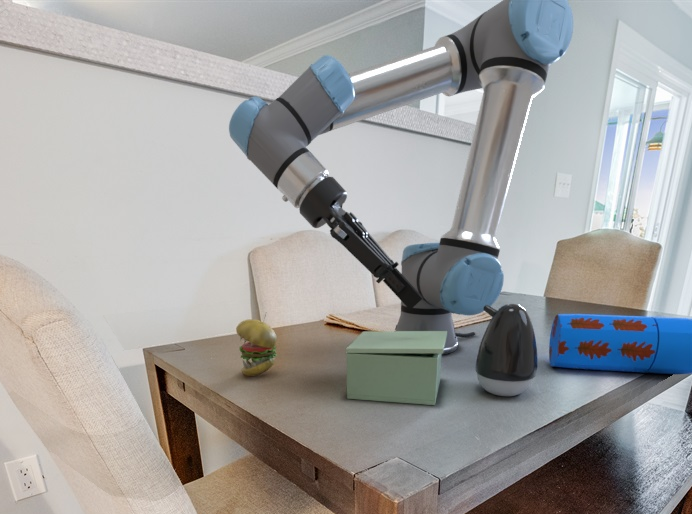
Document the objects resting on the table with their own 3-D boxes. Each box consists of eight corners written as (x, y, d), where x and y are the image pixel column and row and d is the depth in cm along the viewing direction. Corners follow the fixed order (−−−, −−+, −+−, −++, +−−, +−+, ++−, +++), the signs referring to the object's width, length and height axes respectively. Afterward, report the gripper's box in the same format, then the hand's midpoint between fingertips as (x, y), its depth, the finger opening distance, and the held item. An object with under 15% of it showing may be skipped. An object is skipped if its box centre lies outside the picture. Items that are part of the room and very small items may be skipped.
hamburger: (245, 368, 92) (239, 308, 88) (282, 368, 92) (277, 308, 88) (236, 381, 85) (229, 316, 80) (275, 380, 85) (270, 316, 81)
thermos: (555, 373, 90) (696, 382, 86) (563, 319, 86) (711, 325, 82) (546, 358, 100) (672, 365, 96) (553, 309, 96) (685, 314, 92)
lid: (447, 335, 82) (447, 330, 82) (443, 353, 71) (443, 348, 70) (363, 335, 85) (363, 331, 85) (346, 353, 74) (345, 348, 74)
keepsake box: (440, 380, 86) (442, 339, 83) (434, 405, 74) (437, 358, 71) (363, 375, 88) (363, 335, 85) (347, 398, 77) (346, 353, 74)
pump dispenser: (492, 378, 87) (500, 296, 82) (544, 391, 80) (557, 304, 75) (460, 390, 81) (467, 303, 75) (514, 406, 74) (525, 311, 68)
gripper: (311, 212, 79) (405, 312, 83) (283, 210, 68) (394, 327, 71) (340, 177, 77) (436, 282, 80) (317, 169, 65) (430, 293, 68)
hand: (416, 303), depth 75 cm, fingers closed
